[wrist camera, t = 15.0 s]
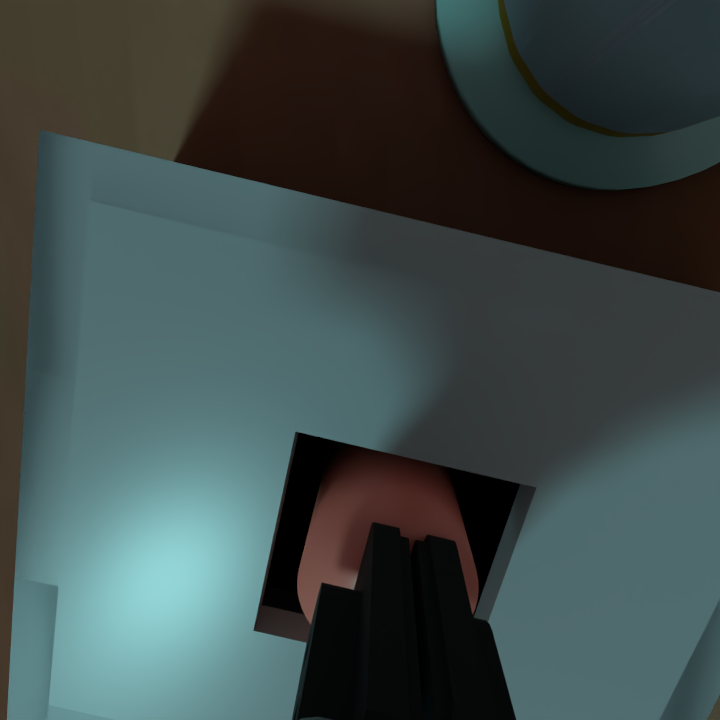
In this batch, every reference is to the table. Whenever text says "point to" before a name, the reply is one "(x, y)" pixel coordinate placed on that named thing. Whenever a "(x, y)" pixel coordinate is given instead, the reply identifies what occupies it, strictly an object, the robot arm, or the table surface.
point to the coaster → (554, 115)
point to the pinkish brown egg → (376, 516)
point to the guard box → (348, 425)
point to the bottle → (619, 61)
